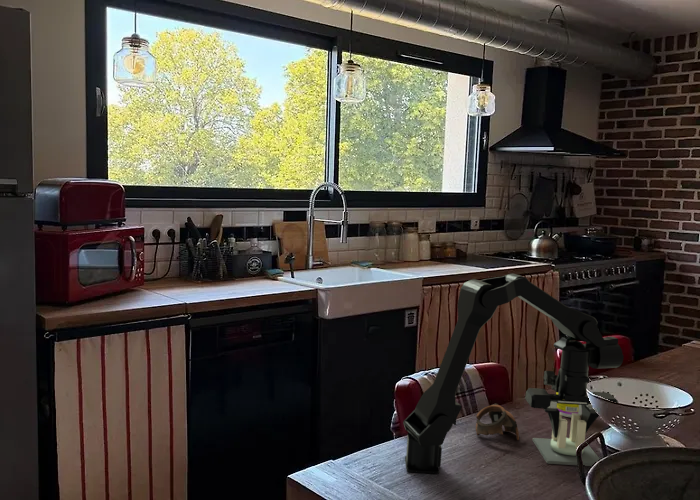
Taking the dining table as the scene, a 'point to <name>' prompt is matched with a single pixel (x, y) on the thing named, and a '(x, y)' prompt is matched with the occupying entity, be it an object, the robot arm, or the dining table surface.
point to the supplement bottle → (569, 409)
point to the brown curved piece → (496, 421)
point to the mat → (558, 458)
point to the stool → (576, 435)
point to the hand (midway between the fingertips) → (567, 437)
